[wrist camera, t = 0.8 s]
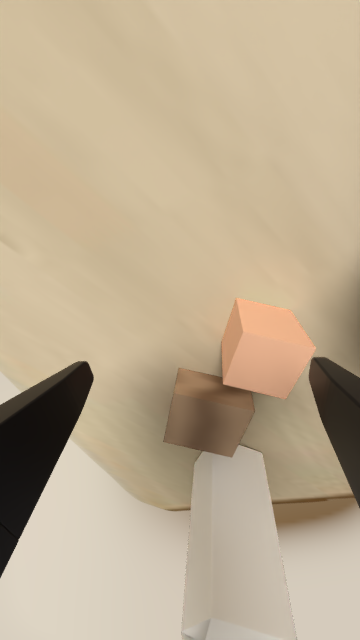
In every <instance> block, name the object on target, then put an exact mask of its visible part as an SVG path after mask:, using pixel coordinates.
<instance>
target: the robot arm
mask: <svg viewBox="0 0 360 640" xmlns="http://www.w3.org/2000/svg"><path fill="white" fill-rule="evenodd" d="M93 379H94V377H93V373H92V371H91V368H90V366H89V364H88V362H86V361H78V362H76V363H74V364H72V365H70V366H68V367H67V368H65V369H63V370H61V371H60V372H58V373H56V374H54V375H53V376H51V377H49V378H47V379H45V380H44V381H42V382H40V383H38V384H37V385H35V386H33V387H31V388H29V389H28V390H26V391H24V392H22V393H21V394H19V395H17V396H15V397H14V398H12V399H10V400H8V401H6V402H5V403H3V404H1V405H0V578H1V576H2V573H3V571H4V569H5V567H6V565H7V563H8V561H9V559H10V557H11V555H12V553H13V551H14V549H15V547H16V545H17V543H18V539H19V538H20V536H21V535H22V532H23V530H24V528H25V526H26V524H27V522H28V520H29V518H30V516H31V514H32V512H33V510H34V508H35V506H36V504H37V502H38V500H39V498H40V496H41V493H42V492H43V490H44V488H45V486H46V484H47V481H48V479H49V478H50V475H51V473H52V471H53V469H54V467H55V465H56V463H57V461H58V459H59V457H60V455H61V453H62V451H63V449H64V447H65V445H66V443H67V441H68V439H69V437H70V435H71V433H72V431H73V429H74V427H75V425H76V423H77V421H78V418H79V416H80V414H81V412H82V409H83V407H84V404H85V402H86V399H87V396H88V394H89V391H90V388H91V386H92V383H93ZM309 381H310V385H311V388H312V391H313V394H314V398H315V401H316V404H317V408H318V411H319V414H320V417H321V420H322V423H323V425H324V428H325V430H326V432H327V435H328V437H329V439H330V441H331V444H332V446H333V448H334V451H335V453H336V455H337V457H338V460H339V462H340V464H341V467H342V469H343V471H344V473H345V476H346V478H347V480H348V483H349V485H350V487H351V489H352V492H353V494H354V496H355V499H356V501H357V503H358V505H359V508H360V378H359V377H357V376H355V375H354V374H352V373H351V372H349V371H347V370H346V369H344V368H342V367H341V366H339V365H337V364H336V363H334V362H332V361H331V360H329V359H328V358H326V357H313V358H312V360H311V364H310V371H309Z"/></svg>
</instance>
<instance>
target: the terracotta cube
mask: <svg viewBox="0 0 360 640" xmlns="http://www.w3.org/2000/svg"><path fill="white" fill-rule="evenodd" d="M221 346H222V371H223V384H224V385H228V386H232V387H236V388H241V389H245V390H249V391H253V392H257V393H262V394H266V395H270V396H274V397H278V398H282V399H286V398H287V396H288V395H289V393H290V391H291V390H292V388H293V386H294V385H295V383H296V381H297V380H298V378H299V377H300V375H301V373H302V372H303V370H304V368H305V367H306V365H307V363H308V362H309V360H310V358H311V357H312V355H313V353H314V352H315V350H316V347H315V346H314V344H313V343H312V341H311V340H310V338H309V337H308V335H307V334H306V332H305V331H304V329H303V328H302V326H301V325H300V323H299V322H298V320H297V319H296V317H295V316H294V314H293V313H292V311H291V310H288V309H283V308H279V307H274V306H270V305H266V304H261V303H257V302H252V301H248V300H243V299H239V298H236V300H235V303H234V306H233V309H232V312H231V315H230V318H229V321H228V324H227V327H226V330H225V333H224V336H223V339H222V342H221Z"/></svg>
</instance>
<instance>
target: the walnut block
mask: <svg viewBox="0 0 360 640" xmlns="http://www.w3.org/2000/svg"><path fill="white" fill-rule="evenodd" d="M254 412H255V409H254V404H253V398H252V393H251V391H249V390H245V389H241V388H236V387H232V386H228V385H224V384H223V378H222V377H218V376H213V375H209V374H204V373H200V372H195V371H191V370H186V369H182V368H179V370H178V375H177V380H176V384H175V389H174V394H173V398H172V403H171V408H170V412H169V417H168V422H167V427H166V432H165V436H164V441H163V442H166V443H171V444H175V445H179V446H184V447H188V448H192V449H197V450H201V451H205V452H209V453H214V454H218V455H222V456H227V457H231V458H232V457H233V455H234V453H235V451H236V449H237V447H238V445H239V443H240V441H241V439H242V437H243V434H244V432H245V430H246V428H247V426H248V424H249V422H250V420H251V418H252V416H253V414H254Z"/></svg>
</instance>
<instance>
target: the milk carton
mask: <svg viewBox="0 0 360 640" xmlns="http://www.w3.org/2000/svg"><path fill="white" fill-rule="evenodd" d="M188 540H189V541H188V552H187V565H186V579H185V590H184V603H183V604H184V605H183V617H182V631H181V635H182V640H297V637H296V631H295V626H294V620H293V615H292V610H291V604H290V599H289V593H288V588H287V583H286V577H285V572H284V567H283V561H282V556H281V551H280V545H279V540H278V534H277V529H276V524H275V518H274V513H273V507H272V502H271V496H270V491H269V486H268V480H267V475H266V470H265V464H264V459H263V454H262V453H261V452H258V451H256V450H253V449H250V448H247V447H244V446H241V445H238V447H237V449H236V451H235V453H234V455H233V457H232V458H231V457H227V456H222V455H218V454H214V453H209V452H205V451H203V452H202V453H201V455H200V456H199V457H198V459H197V460H196V462H195V463H194V474H193V487H192V500H191V513H190V526H189V539H188Z"/></svg>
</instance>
